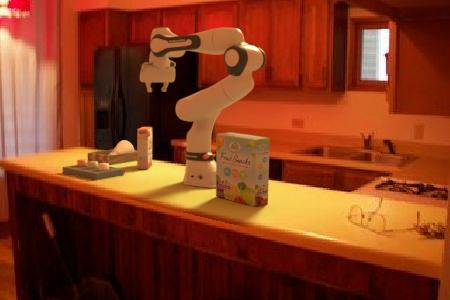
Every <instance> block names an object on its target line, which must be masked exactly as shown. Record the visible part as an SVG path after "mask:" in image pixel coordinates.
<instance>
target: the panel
mask: <svg viewBox="0 0 450 300" xmlns="http://www.w3.org/2000/svg"><path fill="white" fill-rule="evenodd" d="M62 174H64V175H65V174H66V175H71V176H75V177H80V178H84V179H90V180H95V181H99V180H100V181H101V180H104V179H106V180H107V179H111V178H116V177H122V176H124V174H125V170H124V168H120V167H114V166H109V171H104V172H102V171H98V169H88V167H82V168H81V167H77V164H75V165H67V166H62Z"/></svg>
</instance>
